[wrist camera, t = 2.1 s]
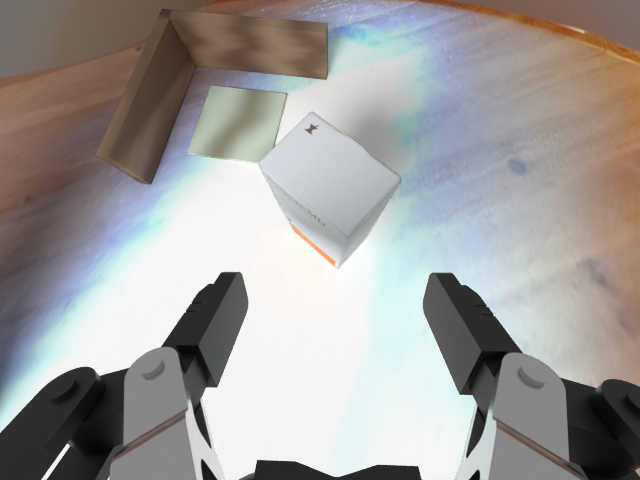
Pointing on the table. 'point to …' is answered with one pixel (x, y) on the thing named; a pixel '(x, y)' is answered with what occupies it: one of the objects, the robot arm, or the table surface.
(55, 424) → the robot arm
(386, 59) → the table surface
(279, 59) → the corner arena
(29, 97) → the table surface
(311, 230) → the skincare box
